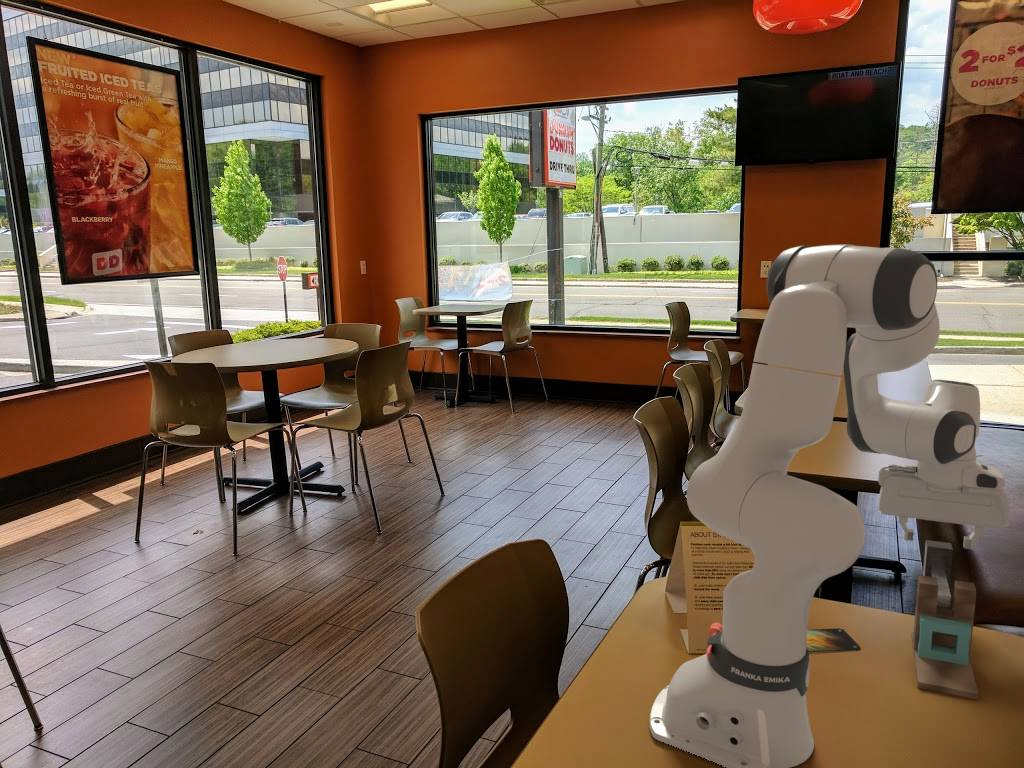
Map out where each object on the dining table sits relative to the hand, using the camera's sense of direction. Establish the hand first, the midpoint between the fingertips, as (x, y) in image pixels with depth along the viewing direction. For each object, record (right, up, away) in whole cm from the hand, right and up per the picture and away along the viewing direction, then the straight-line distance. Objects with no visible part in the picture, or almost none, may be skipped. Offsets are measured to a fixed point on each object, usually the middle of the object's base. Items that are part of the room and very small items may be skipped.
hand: (937, 543), depth 132 cm
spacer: (-6, -16, -12) cm, 21 cm away
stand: (-7, -17, -13) cm, 22 cm away
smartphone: (-25, -17, -4) cm, 30 cm away
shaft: (-2, -8, -3) cm, 9 cm away
